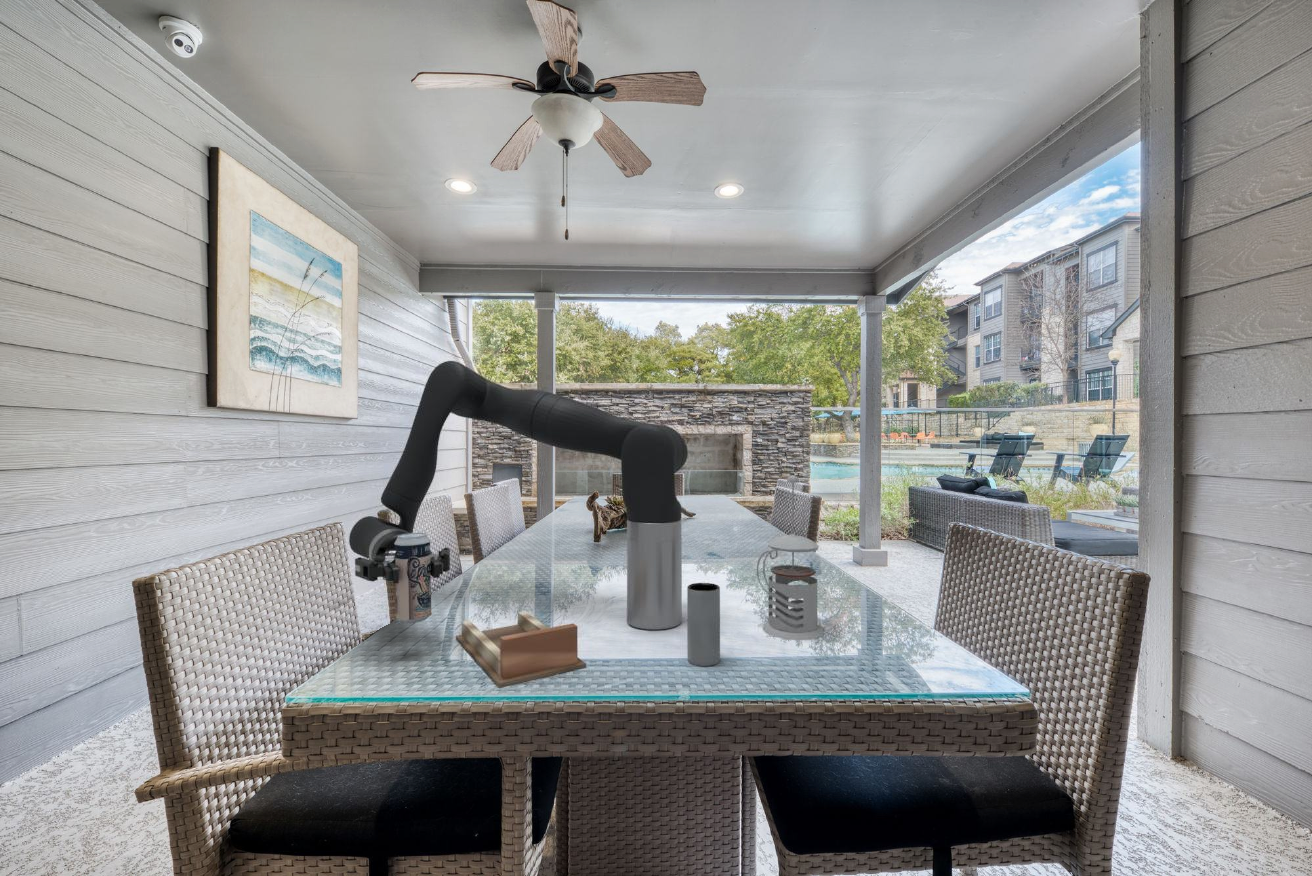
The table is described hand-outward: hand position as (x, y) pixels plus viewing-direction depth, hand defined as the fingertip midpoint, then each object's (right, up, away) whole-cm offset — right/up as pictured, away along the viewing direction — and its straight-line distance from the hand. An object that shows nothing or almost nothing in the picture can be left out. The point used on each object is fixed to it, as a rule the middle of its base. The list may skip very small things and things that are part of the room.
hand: (417, 573), depth 82 cm
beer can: (-1, -7, +2) cm, 8 cm away
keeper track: (+13, -12, +3) cm, 18 cm away
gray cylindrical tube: (+40, -12, 0) cm, 42 cm away
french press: (+55, -12, +14) cm, 58 cm away
